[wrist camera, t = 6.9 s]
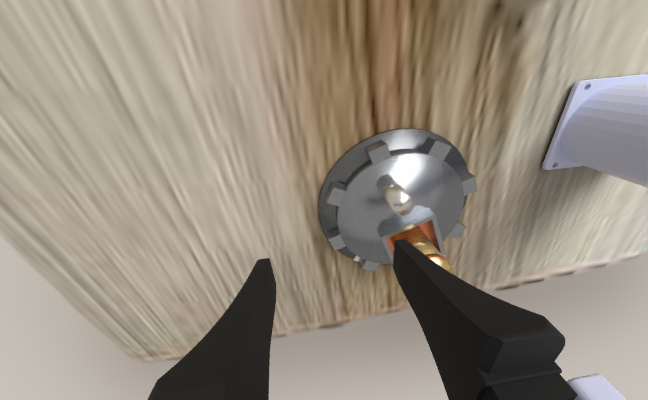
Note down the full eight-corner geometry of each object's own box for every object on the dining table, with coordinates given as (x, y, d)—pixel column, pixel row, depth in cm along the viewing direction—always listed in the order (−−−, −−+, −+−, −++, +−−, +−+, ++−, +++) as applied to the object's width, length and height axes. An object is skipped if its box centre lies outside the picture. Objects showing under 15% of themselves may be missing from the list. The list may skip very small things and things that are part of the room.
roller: (430, 228, 24) (460, 264, 19) (418, 254, 25) (444, 293, 21) (398, 225, 23) (422, 261, 19) (388, 252, 24) (408, 291, 20)
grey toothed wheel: (480, 128, 21) (535, 146, 16) (451, 252, 28) (483, 291, 23) (318, 145, 20) (326, 170, 15) (329, 269, 27) (337, 312, 22)
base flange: (483, 119, 21) (486, 120, 21) (452, 252, 29) (454, 254, 28) (310, 138, 20) (311, 139, 20) (324, 269, 28) (325, 272, 27)
